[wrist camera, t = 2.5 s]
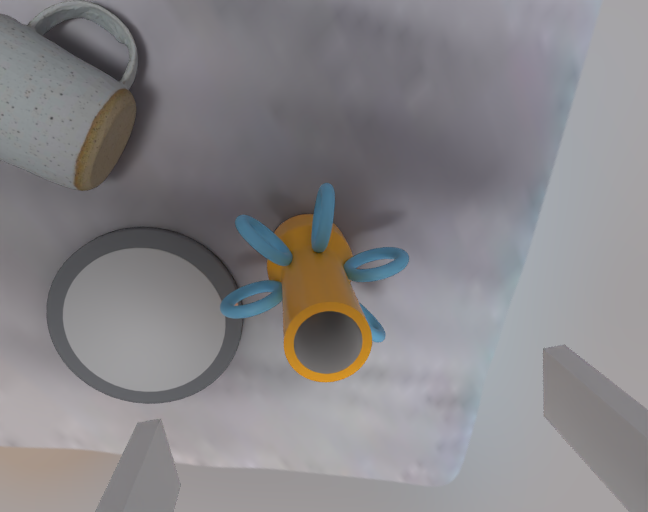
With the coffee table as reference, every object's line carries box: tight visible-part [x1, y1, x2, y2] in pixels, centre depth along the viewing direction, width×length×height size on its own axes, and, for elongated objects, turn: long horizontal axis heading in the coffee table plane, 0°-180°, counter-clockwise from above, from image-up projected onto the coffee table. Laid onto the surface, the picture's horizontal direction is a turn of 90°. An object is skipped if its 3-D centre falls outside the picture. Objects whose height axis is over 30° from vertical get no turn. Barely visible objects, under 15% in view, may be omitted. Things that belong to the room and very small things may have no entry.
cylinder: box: [220, 183, 409, 382], centre depth 28 cm, size 12×10×15 cm
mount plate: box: [47, 227, 243, 404], centre depth 34 cm, size 14×14×1 cm
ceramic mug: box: [0, 0, 138, 191], centre depth 26 cm, size 11×8×8 cm
